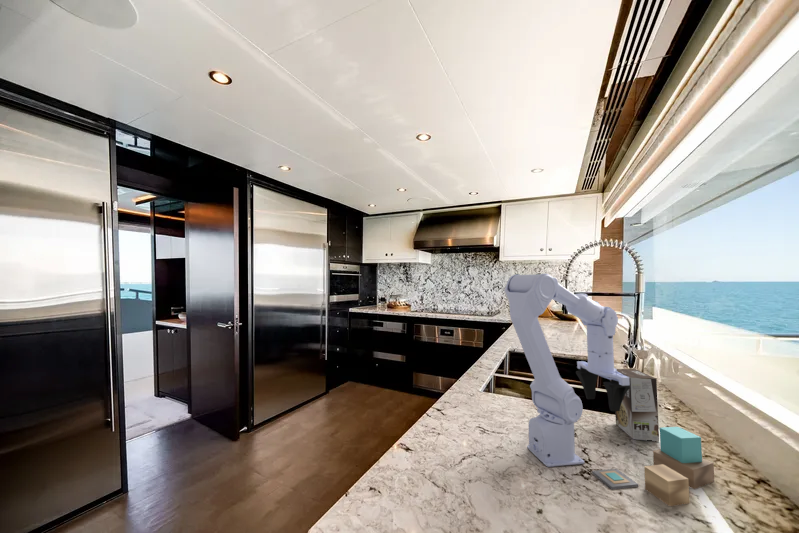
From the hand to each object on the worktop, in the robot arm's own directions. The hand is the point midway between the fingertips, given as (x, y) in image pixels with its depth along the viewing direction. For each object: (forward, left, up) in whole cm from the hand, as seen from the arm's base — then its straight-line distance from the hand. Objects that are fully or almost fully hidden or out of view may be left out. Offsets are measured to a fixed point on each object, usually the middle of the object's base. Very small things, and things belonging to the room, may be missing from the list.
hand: (602, 404), depth 76 cm
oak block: (-4, -19, -10) cm, 22 cm away
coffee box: (+13, +3, -10) cm, 16 cm away
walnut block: (+6, -14, -10) cm, 18 cm away
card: (-10, -14, -9) cm, 19 cm away
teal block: (+6, -14, -6) cm, 16 cm away
